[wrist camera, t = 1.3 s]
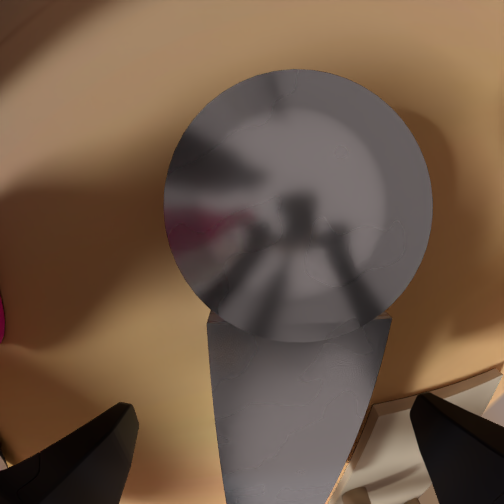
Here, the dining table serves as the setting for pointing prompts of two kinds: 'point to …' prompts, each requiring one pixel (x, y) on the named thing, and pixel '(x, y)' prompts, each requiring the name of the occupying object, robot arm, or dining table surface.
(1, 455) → the milk container
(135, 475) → the dining table surface
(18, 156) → the dining table surface
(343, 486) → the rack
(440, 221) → the dining table surface
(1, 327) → the pepper mill
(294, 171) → the round-headed grey paddle
